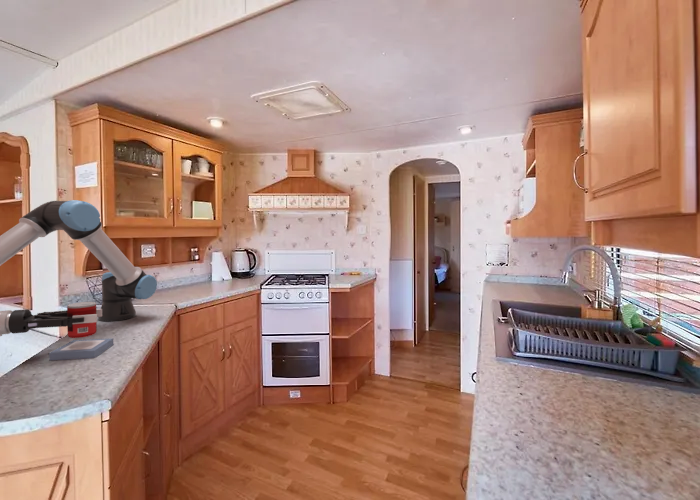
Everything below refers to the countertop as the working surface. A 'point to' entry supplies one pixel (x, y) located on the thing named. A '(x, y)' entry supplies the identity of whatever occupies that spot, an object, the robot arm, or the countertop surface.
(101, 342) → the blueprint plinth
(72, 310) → the canned food
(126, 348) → the countertop surface
